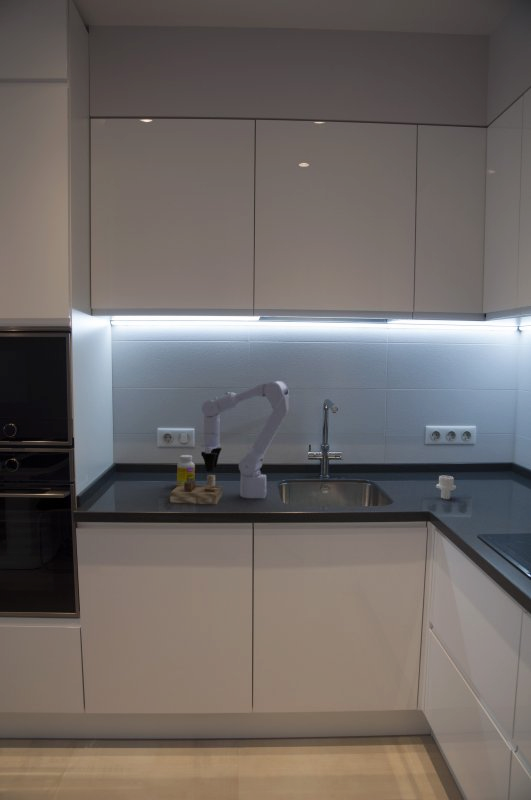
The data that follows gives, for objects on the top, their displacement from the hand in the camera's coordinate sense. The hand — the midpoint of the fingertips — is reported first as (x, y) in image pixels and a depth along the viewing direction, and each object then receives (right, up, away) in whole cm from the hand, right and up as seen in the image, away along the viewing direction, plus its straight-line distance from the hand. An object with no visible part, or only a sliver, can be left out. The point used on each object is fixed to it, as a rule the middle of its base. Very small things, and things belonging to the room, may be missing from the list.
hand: (211, 469), depth 202 cm
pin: (0, -9, +1) cm, 9 cm away
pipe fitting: (+87, -11, +3) cm, 88 cm away
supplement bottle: (-11, -9, +8) cm, 16 cm away
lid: (-4, -7, -10) cm, 13 cm away
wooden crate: (-4, -10, -10) cm, 15 cm away
